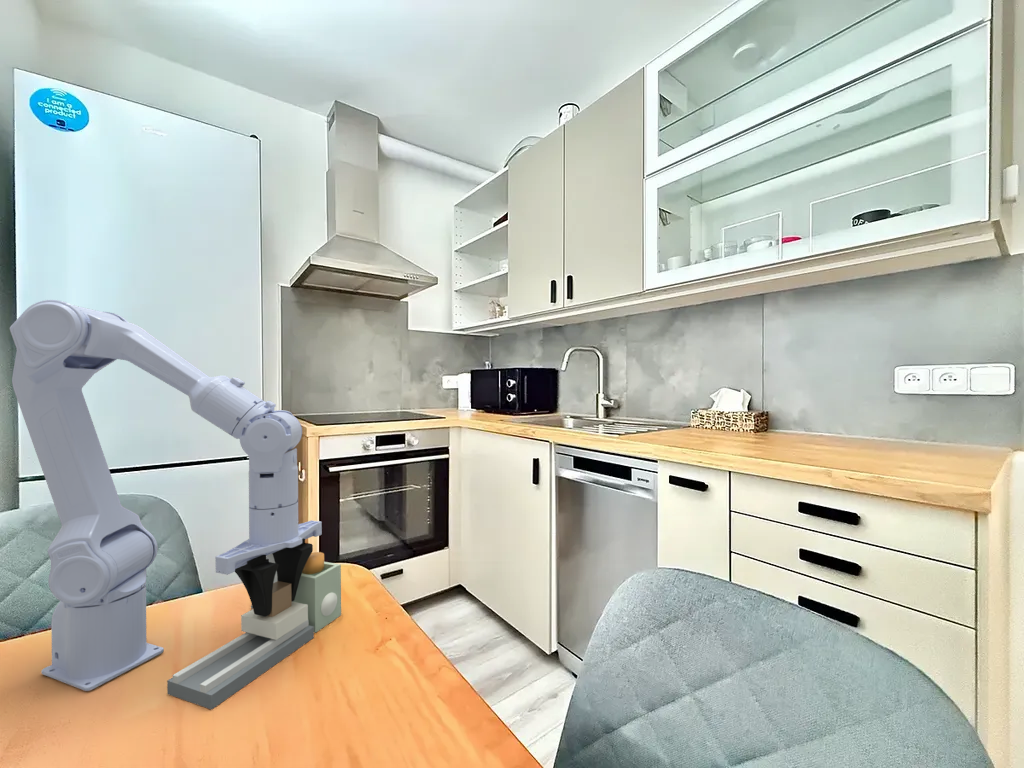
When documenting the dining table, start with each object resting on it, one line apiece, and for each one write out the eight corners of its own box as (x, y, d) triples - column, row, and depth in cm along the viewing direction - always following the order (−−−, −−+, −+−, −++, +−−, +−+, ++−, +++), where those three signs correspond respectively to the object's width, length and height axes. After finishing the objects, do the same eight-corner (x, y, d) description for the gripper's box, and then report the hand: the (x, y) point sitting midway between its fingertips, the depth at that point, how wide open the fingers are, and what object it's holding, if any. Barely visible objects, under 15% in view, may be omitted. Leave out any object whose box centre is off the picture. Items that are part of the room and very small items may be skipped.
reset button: (296, 572, 63) (296, 558, 63) (313, 564, 66) (312, 551, 66) (313, 575, 62) (313, 561, 62) (328, 567, 65) (328, 553, 65)
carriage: (241, 630, 57) (241, 592, 57) (274, 612, 61) (274, 576, 61) (276, 639, 55) (275, 599, 55) (307, 619, 59) (307, 582, 59)
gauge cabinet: (284, 625, 63) (284, 572, 63) (311, 608, 67) (311, 559, 67) (316, 633, 61) (315, 578, 61) (342, 615, 65) (341, 564, 65)
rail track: (167, 694, 49) (167, 673, 49) (275, 628, 62) (274, 611, 62) (211, 709, 46) (211, 687, 46) (313, 637, 60) (313, 620, 60)
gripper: (245, 523, 50) (246, 643, 50) (338, 493, 63) (338, 587, 63) (202, 517, 52) (203, 631, 52) (300, 489, 66) (301, 580, 66)
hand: (275, 606), depth 58 cm, fingers open, 3 cm apart
